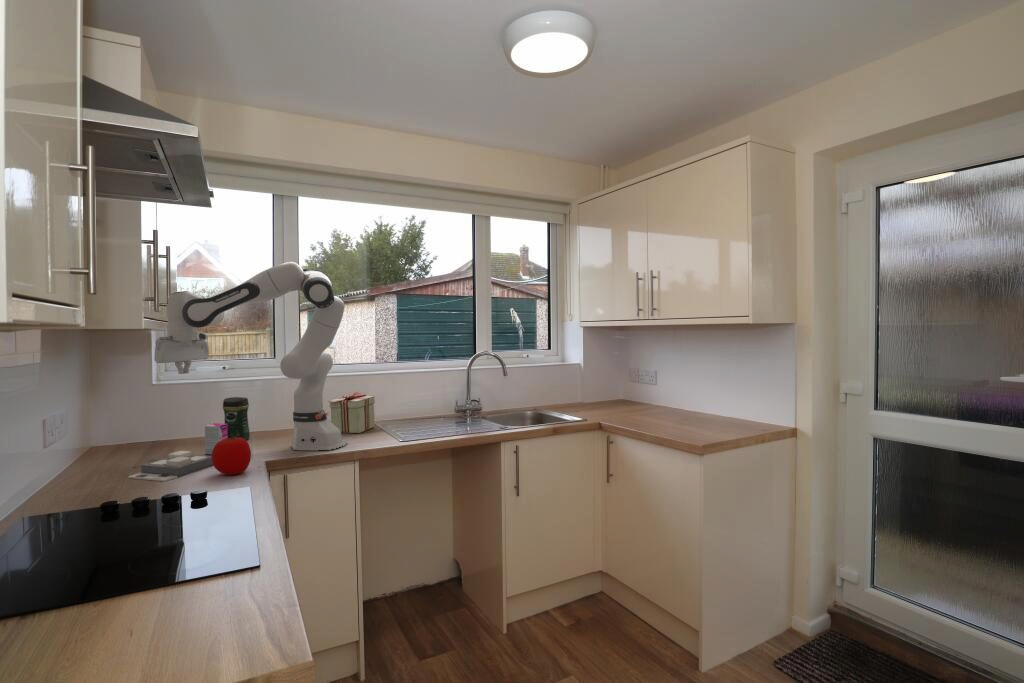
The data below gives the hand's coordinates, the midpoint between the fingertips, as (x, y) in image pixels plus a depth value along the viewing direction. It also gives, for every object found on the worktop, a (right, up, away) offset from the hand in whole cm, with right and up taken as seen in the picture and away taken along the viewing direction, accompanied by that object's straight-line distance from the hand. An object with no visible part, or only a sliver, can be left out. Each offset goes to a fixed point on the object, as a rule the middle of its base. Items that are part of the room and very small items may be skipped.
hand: (183, 373), depth 191 cm
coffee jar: (+2, -31, +33) cm, 45 cm away
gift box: (+45, -30, +53) cm, 75 cm away
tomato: (+26, -33, -16) cm, 45 cm away
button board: (+4, -33, -12) cm, 35 cm away
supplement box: (+6, -32, +10) cm, 34 cm away
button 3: (+2, -30, -6) cm, 31 cm away
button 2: (+7, -31, -14) cm, 35 cm away
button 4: (+9, -32, -8) cm, 34 cm away
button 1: (+1, -32, -13) cm, 34 cm away
